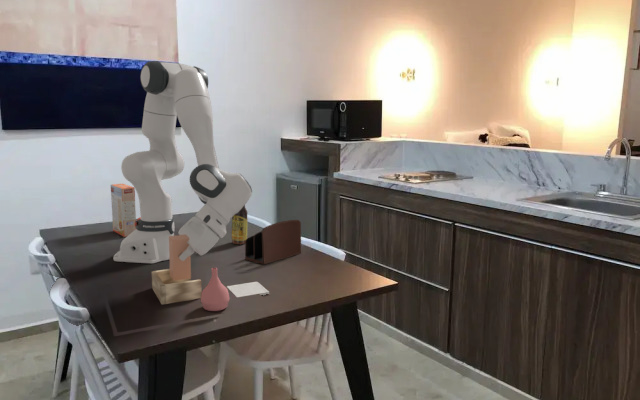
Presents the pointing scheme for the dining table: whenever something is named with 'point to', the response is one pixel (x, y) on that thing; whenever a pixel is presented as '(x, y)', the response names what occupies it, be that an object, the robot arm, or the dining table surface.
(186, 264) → the block
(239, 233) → the sauce bottle
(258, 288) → the coaster
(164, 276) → the crate
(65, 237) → the dining table surface
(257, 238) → the letter holder
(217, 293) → the pink vase
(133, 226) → the cracker box
